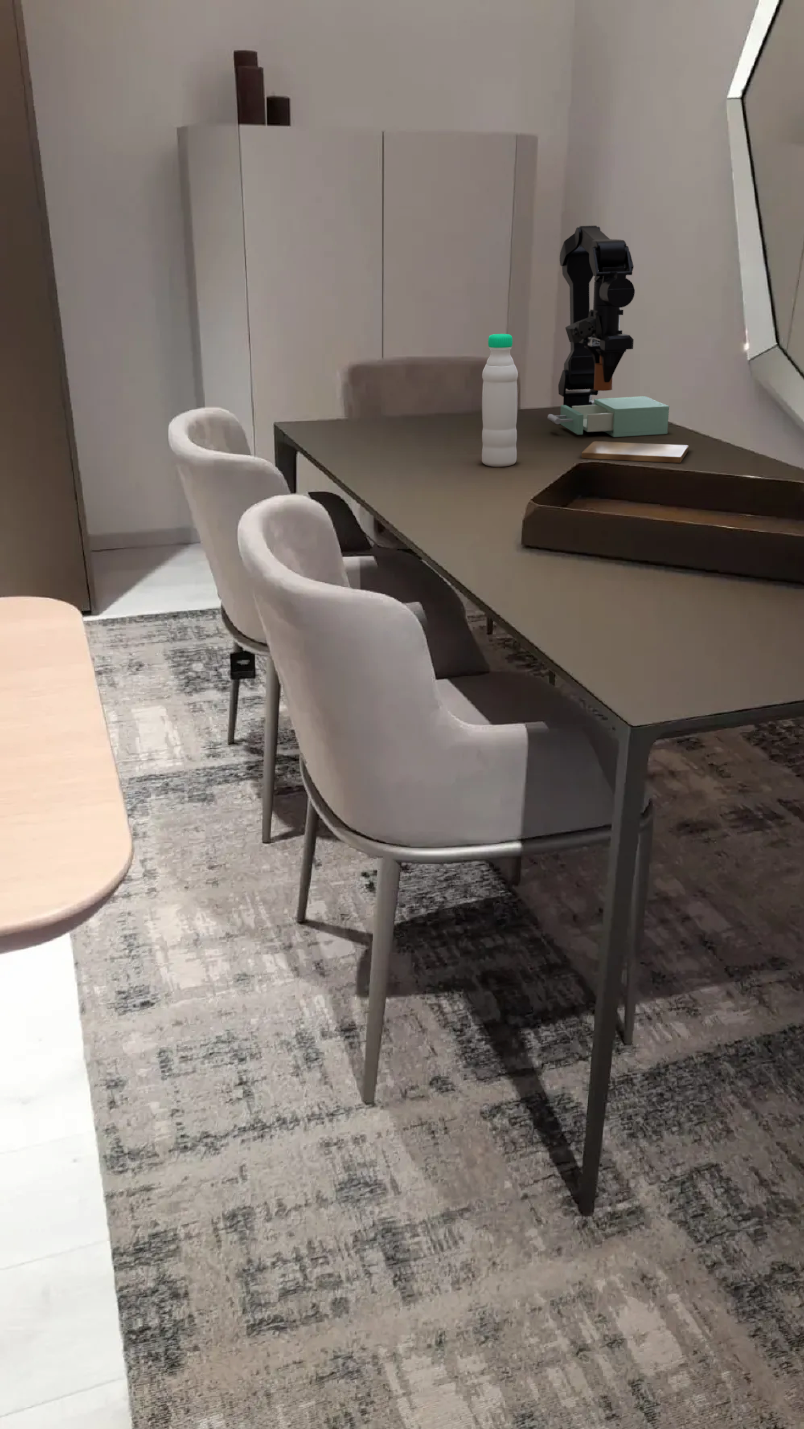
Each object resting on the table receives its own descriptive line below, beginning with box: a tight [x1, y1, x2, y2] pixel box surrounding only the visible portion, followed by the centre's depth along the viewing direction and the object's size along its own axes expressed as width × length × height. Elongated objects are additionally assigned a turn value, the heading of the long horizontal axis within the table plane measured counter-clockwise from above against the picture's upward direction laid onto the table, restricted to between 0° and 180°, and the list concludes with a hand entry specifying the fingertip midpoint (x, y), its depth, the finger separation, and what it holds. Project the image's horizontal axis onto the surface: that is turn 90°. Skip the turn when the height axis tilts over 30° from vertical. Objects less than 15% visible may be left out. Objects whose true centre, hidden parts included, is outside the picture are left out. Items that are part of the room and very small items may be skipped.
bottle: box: [594, 356, 614, 392], centre depth 239 cm, size 4×4×8 cm
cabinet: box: [593, 395, 670, 438], centre depth 252 cm, size 13×15×6 cm
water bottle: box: [481, 333, 519, 468], centre depth 219 cm, size 7×7×25 cm
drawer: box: [547, 404, 614, 435], centre depth 251 cm, size 16×13×4 cm
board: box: [581, 440, 689, 464], centre depth 228 cm, size 20×12×1 cm, turn 69°
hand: (603, 381), depth 240 cm, fingers closed on bottle, 4 cm apart
